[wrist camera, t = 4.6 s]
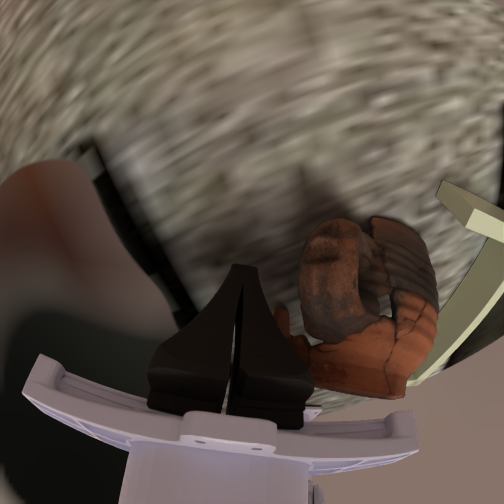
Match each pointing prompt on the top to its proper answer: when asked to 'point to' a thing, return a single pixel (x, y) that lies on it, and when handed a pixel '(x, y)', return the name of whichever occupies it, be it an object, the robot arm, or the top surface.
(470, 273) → the tray
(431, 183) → the top surface
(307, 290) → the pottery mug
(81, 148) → the top surface
